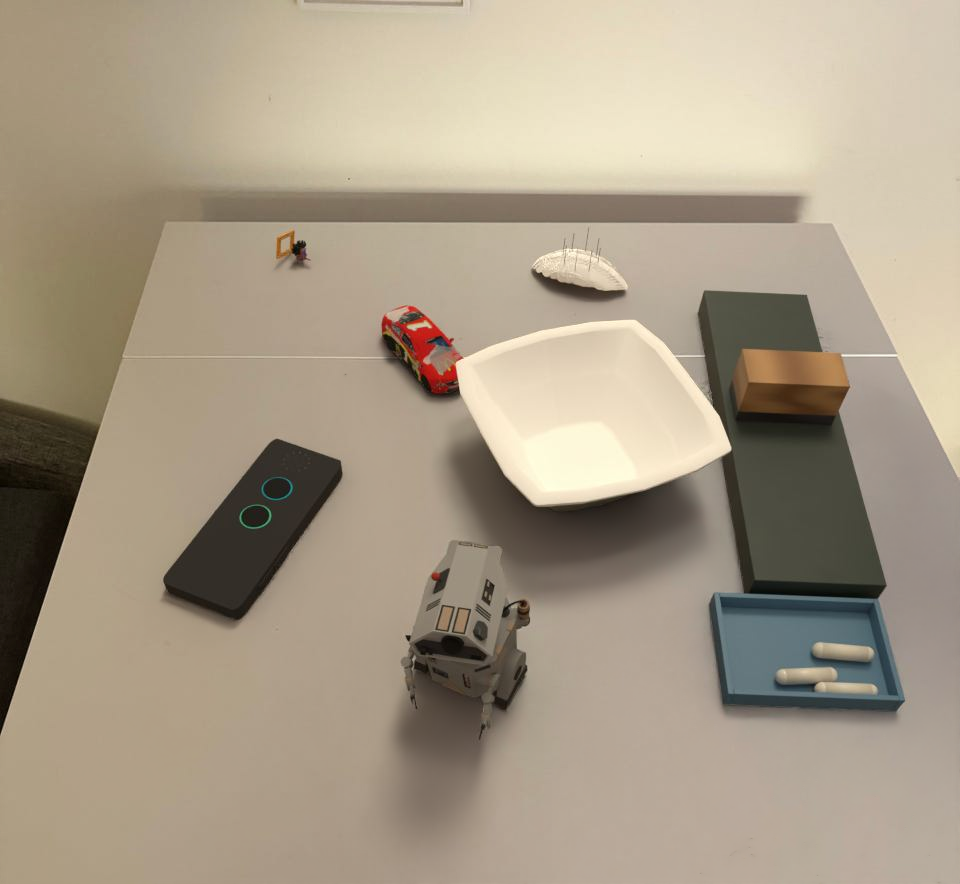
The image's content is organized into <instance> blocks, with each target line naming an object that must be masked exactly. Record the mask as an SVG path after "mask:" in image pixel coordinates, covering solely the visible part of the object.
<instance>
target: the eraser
mask: <svg viewBox="0 0 960 884" xmlns="http://www.w3.org/2000/svg"><path fill="white" fill-rule="evenodd" d="M848 378H849V377H848V374H847V370H846V367H845V364H844V360H843V357H842V353H841V352H823V351H822V352H803V351H780V350H758V349H742V351H741V354H740V357H739V360H738V363H737V366H736V369H735V372H734V375H733V379H732V381H731V384H730V387H729V388H730V393H731V399H732V404H733V410H734V415H735V420H741V421H764V422H787V423H810V424H833V421H834V419H835V417H836V415H837V413H838V411H839V412H840V409H841V407H842V405H843V403H844V400H845V398H846V397H847V394H848V392H849V390H850V389H851V385H850V381H849V379H848Z"/></svg>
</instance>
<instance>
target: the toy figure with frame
mask: <svg viewBox="0 0 960 884" xmlns="http://www.w3.org/2000/svg"><path fill="white" fill-rule="evenodd" d="M295 233H296V232H295V229H292V230H290V231H287V232H285V233H283V234H281V235H278V236H276V252H275V253H276V254H275V256H276V257H275V259H276V260H279V259H281V258H283V257H285V256H287V255H289V254H292V255H294V256H295V259H296V261H297V262H298V263H304V261H305V260H307V261H311V259H310V258H307V256H308V253H307V242H306V241H305V240H303V239H299V240H297V241H296V242H295ZM287 238H289V248H288V249H286V250H283V251H282V252H281V250H282V249H281V248H282V241H283V240H286V239H287Z"/></svg>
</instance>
